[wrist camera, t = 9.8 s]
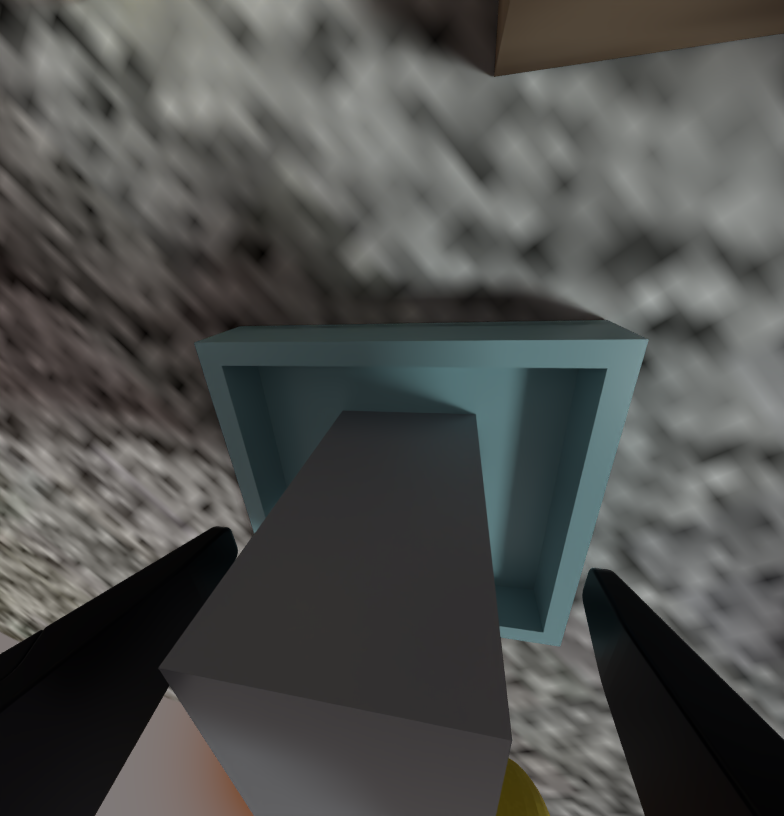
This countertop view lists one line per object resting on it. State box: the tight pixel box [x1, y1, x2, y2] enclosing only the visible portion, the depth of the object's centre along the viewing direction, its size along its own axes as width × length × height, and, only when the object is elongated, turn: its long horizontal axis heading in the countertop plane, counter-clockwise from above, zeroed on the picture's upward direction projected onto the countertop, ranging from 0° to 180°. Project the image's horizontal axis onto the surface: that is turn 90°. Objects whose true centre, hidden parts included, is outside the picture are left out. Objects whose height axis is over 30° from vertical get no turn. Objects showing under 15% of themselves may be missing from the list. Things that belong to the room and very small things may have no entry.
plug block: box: [159, 411, 512, 816], centre depth 8 cm, size 4×5×7 cm
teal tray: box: [194, 320, 649, 646], centre depth 10 cm, size 10×10×2 cm
